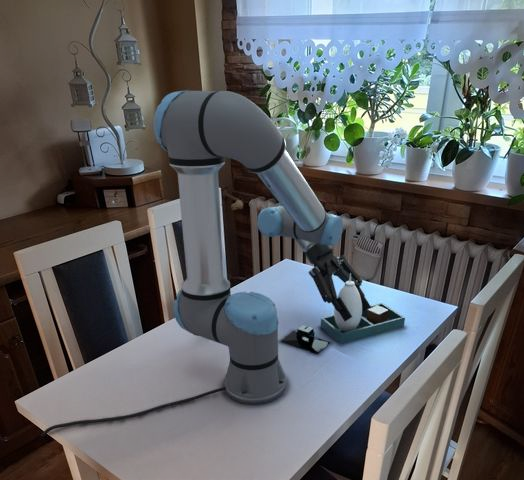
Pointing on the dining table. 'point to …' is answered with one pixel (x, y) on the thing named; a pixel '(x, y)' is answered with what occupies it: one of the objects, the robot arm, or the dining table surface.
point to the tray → (362, 326)
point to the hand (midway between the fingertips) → (357, 313)
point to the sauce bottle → (349, 306)
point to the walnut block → (377, 315)
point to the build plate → (305, 340)
